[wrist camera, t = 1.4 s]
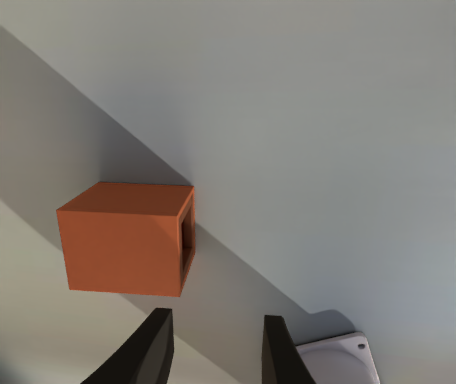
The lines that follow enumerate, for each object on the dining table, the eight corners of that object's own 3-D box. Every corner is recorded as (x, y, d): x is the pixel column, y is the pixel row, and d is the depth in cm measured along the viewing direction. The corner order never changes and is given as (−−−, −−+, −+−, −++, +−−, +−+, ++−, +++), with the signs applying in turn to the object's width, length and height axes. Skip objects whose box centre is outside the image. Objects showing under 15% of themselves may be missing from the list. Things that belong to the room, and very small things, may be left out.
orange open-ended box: (106, 248, 24) (69, 290, 19) (98, 182, 22) (55, 210, 17) (195, 252, 23) (179, 297, 19) (194, 185, 22) (176, 216, 17)
